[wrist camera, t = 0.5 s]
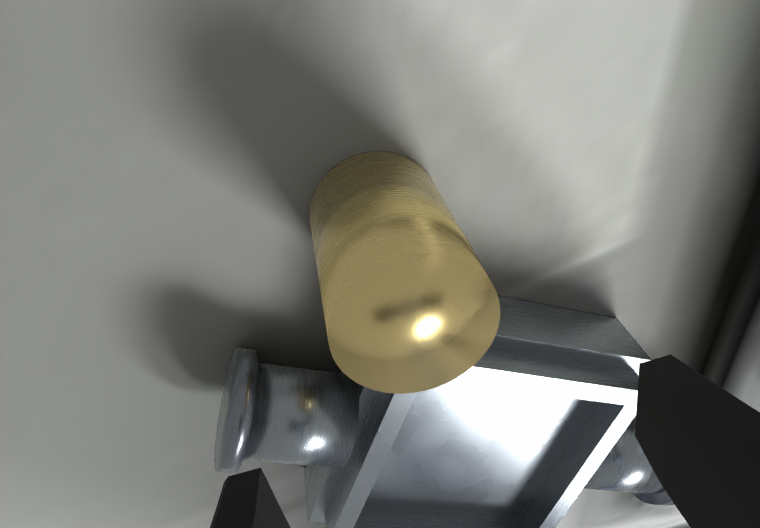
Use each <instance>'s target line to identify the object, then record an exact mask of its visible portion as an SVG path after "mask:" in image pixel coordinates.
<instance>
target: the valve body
mask: <svg viewBox="0 0 760 528" xmlns="http://www.w3.org/2000/svg"><path fill="white" fill-rule="evenodd" d="M498 298H499V303H500V321H499V327H498V330H497V333H496V336H495V338H494V340H493V342H492V344H491V345H490V347H489V348H488V350H487V351H486V353H485V354H484V355H483V356H482V358H481V359H480V360H479V361H478V362H477V363H476V364H475V365H474V366H473V367H471V368H470V369H469V370H468V371H466V372H465V373H464V374H462V375H460V376H459V377H457V378H456V379H454V380H452V381H450V382H448V383H446V384H444V385H441V386H439V387H436V388H433V389H429V390H426V391H421V392H415V393H405V394H394V393H385V392H380V391H375V390H372V389H369V388H366V387H364V386H362V385H360V384H358V383H356V382H355V381H353V380H352V379H350V378H349V377H348V376H347V375H346V374H344V373H343V372H341V373H334V372H326V371H319V370H311V369H304V368H296V367H288V366H281V365H273V364H266V363H258V359H257V352H256V350H252V349H244V348H235V350H234V352H233V355H232V358H231V361H230V364H229V368H228V372H227V376H226V381H225V385H224V390H223V395H222V401H221V407H220V413H219V419H218V426H217V434H216V444H215V470H216V471H218V472H232V473H236V472H237V471H238V470H239V468H240V466H241V463H242V460H246V461H258V462H270V463H283V464H295V465H306V466H305V469H304V474H305V486H306V498H307V511H308V522H309V523H325V524H326V528H555V527H556V526H557V524H558V523H559V522H560V520H561V519H562V517H563V516H564V515H565V513H566V512H567V511H568V509H569V508H570V506H571V505H572V504H573V502H574V501H575V499H576V498H577V497H578V495H579V494H580V492H581V491H582V490H583V488H587V489H599V490H611V491H623V492H631V493H632V494H633V495H635V496H636V497H637V498H638V499H640V500H641V501H643V502H645V503H649V504H655V505H673V504H674V503H673V501H672V500H671V498H670V497H669V495H668V494H667V492H666V491H665V489H664V488H663V487H662V485H661V483H660V481H659V479H658V478H657V476H656V474H655V472H654V471H653V469H652V467H651V465H650V463H649V462H648V460H647V458H646V456H645V454H644V452H643V450H642V448H641V446H640V444H639V443H638V441H637V439H636V437H635V426H636V410H637V393H638V377H639V363H643V362H646V361H650V360H651V359H650V358H649V356H648V355H647V354H646V353H645V352H644V350H643V349H642V348H641V347H640V345H639V344H638V343H637V342H636V341H635V339H634V338H633V337H632V336H631V335H630V333H629V332H628V331H627V330H626V328H625V327H624V326H623V325H622V324H621V322H620V321H619V320H618V319H617V318H612V317H607V316H602V315H597V314H591V313H586V312H581V311H576V310H570V309H565V308H560V307H555V306H549V305H544V304H539V303H534V302H528V301H523V300H518V299H513V298H507V297H502V296H498Z"/></svg>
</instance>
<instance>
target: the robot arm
mask: <svg viewBox="0 0 760 528" xmlns="http://www.w3.org/2000/svg"><path fill="white" fill-rule="evenodd" d="M635 437H636V439H637V441H638V443H639V444H640V446H641V448H642V450H643V452H644V454H645V456H646V458H647V460H648V462H649V463H650V465H651V467H652V469H653V471H654V472H655V474H656V476H657V478H658V479H659V481H660V483H661V485H662V487H663V488H664V489H665V491H666V492H667V494H668V495H669V497H670V498H671V500H672V501H673V503H674V504H675V505H676V507H677V508H678V510H679V511H680V513H681V514H682V516H683V517H684V518H685V520H686V521H687V523H688V524H689V526H690V527H691V528H760V412H758V411H756V410H755V409H753V408H752V407H750V406H748V405H747V404H745V403H744V402H742V401H741V400H739V399H738V398H736V397H735V396H733V395H732V394H730V393H728V392H727V391H725V390H724V389H722V388H721V387H719V386H718V385H716V384H715V383H713V382H712V381H710V380H709V379H707V378H706V377H704V376H703V375H701V374H700V373H698V372H697V371H695V370H694V369H692V368H690V367H689V366H687V365H686V364H684V363H683V362H681V361H680V360H678V359H677V358H675V357H673V356H672V355H668V356H664V357H661V358H657V359H654V360H650V361H646V362H643V363H639V377H638V393H637V410H636V426H635ZM210 528H290V526H289V524H288V522H287V520H286V518H285V516H284V514H283V512H282V510H281V508H280V506H279V504H278V502H277V500H276V498H275V496H274V494H273V492H272V490H271V488H270V485H269V483H268V481H267V479H266V477H265V475H264V473H263V471H262V469H261V468H258V469H254V470H251V471H247V472H243V473H240V474H236V475H233V476H229V477H228V478H227V479H226V480H225V482H224V484H223V488H222V491H221V495H220V498H219V501H218V504H217V508H216V511H215V514H214V517H213V520H212V523H211V526H210Z"/></svg>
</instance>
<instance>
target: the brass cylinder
mask: <svg viewBox="0 0 760 528" xmlns="http://www.w3.org/2000/svg"><path fill="white" fill-rule="evenodd" d="M309 220H310V227H311V233H312V240H313V246H314V253H315V259H316V266H317V272H318V279H319V285H320V292H321V298H322V305H323V311H324V318H325V324H326V330H327V337H328V343H329V349H330V351H331V354H332V357H333V359H334V361H335V362H336V364H337V366H338V367H339V368H340V369H341V370H342V372H343V373H344V374H346V375H347V376H348V377H349V378H350V379H352V380H353V381H355V382H356V383H358V384H360V385H362V386H364V387H366V388H369V389H372V390H375V391H380V392H385V393H394V394H405V393H415V392H421V391H426V390H429V389H433V388H436V387H439V386H441V385H444V384H446V383H448V382H450V381H452V380H454V379H456V378H457V377H459V376H460V375H462V374H464V373H465V372H466V371H468V370H469V369H470V368H471V367H473V366H474V365H475V364H476V363H477V362H478V361H479V360H480V359H481V358H482V356H483V355H484V354H485V353H486V351H487V350H488V348H489V347H490V345H491V344H492V342H493V340H494V338H495V336H496V333H497V330H498V327H499V321H500V303H499V298H498V295H497V292H496V290H495V288H494V286H493V284H492V282H491V280H490V279H489V277H488V275H487V274H486V272H485V270H484V268H483V267H482V265H481V263H480V262H479V260H478V258H477V257H476V255H475V253H474V251H473V250H472V248H471V246H470V245H469V243H468V241H467V239H466V238H465V236H464V234H463V233H462V231H461V229H460V227H459V226H458V224H457V222H456V221H455V219H454V217H453V215H452V214H451V212H450V210H449V209H448V207H447V205H446V204H445V202H444V200H443V198H442V197H441V195H440V193H439V192H438V190H437V188H436V186H435V185H434V183H433V181H432V180H431V178H430V177H429V175H428V174H427V172H426V171H425V170H424V169H423V168H422V167H421V166H420V165H418V164H417V163H416V162H414V161H412V160H411V159H409V158H407V157H404V156H402V155H399V154H395V153H391V152H368V153H362V154H359V155H355V156H353V157H350V158H348V159H346V160H344V161H342V162H341V163H339V164H338V165H336V166H335V167H334V168H332V169H331V170H330V171H329V172H328V173H327V174H326V175H325V176H324V177H323V179H322V180H321V181H320V183H319V184H318V186H317V188H316V189H315V192H314V194H313V196H312V200H311V203H310V210H309Z"/></svg>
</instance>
